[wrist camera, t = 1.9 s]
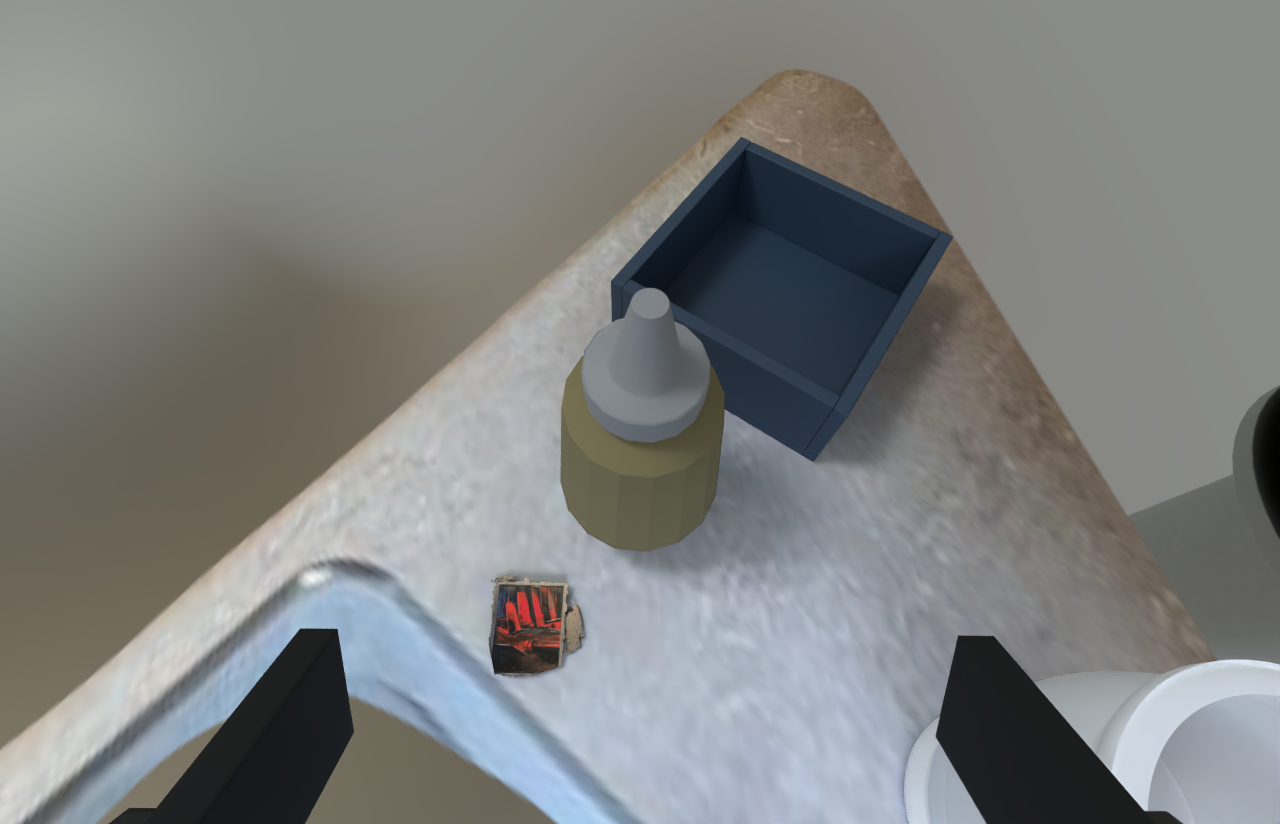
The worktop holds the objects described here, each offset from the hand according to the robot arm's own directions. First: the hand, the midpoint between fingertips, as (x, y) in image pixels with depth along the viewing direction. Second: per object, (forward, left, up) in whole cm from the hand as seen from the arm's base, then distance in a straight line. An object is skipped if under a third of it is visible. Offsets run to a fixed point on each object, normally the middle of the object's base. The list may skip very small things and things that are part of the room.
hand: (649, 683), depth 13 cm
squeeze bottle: (+6, -9, -19) cm, 21 cm away
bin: (+6, -24, -19) cm, 31 cm away
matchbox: (+6, 0, -19) cm, 20 cm away
